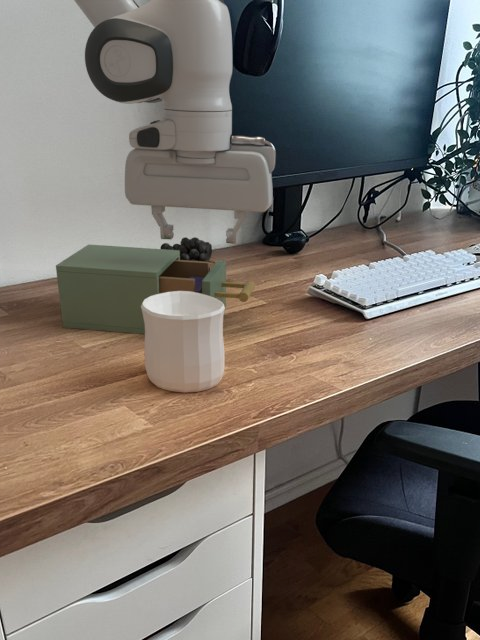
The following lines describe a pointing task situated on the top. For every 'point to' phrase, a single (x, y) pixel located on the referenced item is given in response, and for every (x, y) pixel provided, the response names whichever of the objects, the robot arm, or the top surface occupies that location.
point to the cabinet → (110, 286)
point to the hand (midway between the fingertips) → (199, 240)
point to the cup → (184, 341)
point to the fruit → (192, 249)
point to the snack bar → (198, 284)
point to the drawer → (212, 283)
